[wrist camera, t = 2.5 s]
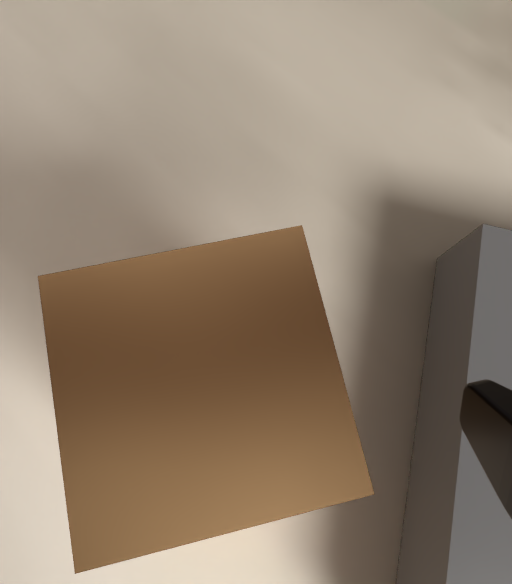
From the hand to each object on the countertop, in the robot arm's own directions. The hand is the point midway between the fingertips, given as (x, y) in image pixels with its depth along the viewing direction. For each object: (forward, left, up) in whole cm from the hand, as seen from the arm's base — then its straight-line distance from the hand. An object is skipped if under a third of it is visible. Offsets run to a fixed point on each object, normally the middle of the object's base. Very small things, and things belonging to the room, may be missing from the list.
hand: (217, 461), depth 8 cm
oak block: (+1, +1, -9) cm, 9 cm away
